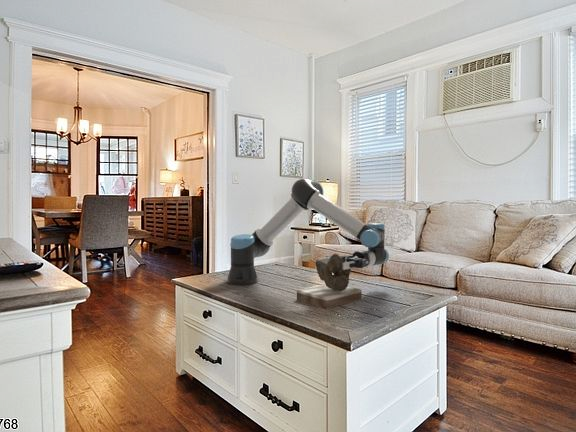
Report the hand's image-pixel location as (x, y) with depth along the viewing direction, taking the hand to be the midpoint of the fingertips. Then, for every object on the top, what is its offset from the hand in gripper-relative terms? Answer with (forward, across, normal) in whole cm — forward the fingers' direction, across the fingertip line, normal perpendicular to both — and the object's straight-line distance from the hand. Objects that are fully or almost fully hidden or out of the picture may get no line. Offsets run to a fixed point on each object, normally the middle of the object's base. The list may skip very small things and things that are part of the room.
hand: (330, 264), depth 151 cm
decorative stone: (0, -2, -11) cm, 11 cm away
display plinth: (0, 0, -15) cm, 15 cm away
